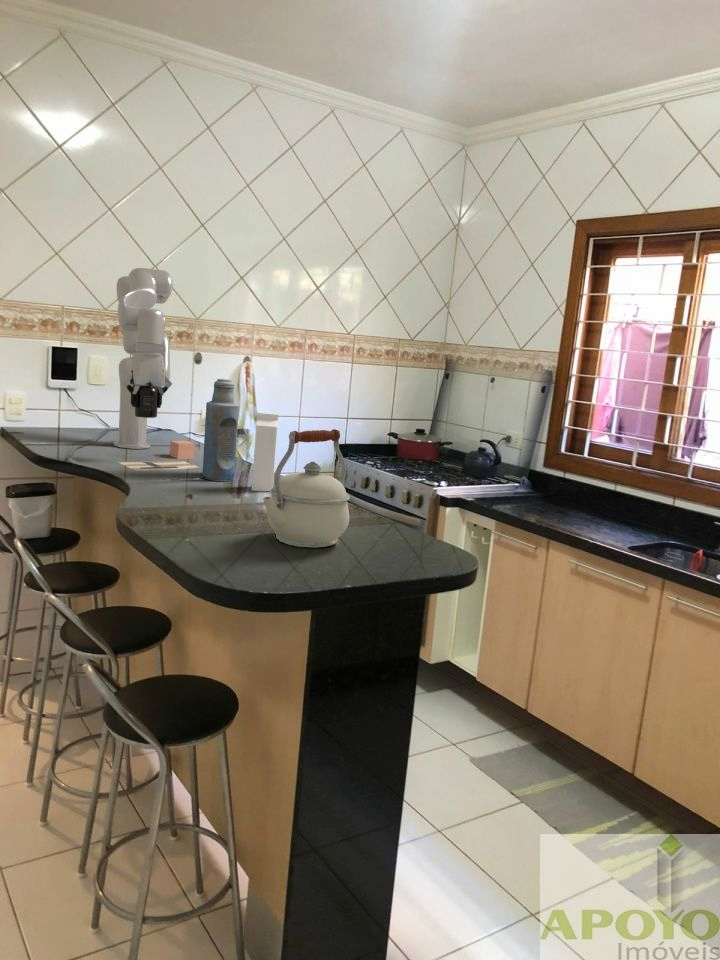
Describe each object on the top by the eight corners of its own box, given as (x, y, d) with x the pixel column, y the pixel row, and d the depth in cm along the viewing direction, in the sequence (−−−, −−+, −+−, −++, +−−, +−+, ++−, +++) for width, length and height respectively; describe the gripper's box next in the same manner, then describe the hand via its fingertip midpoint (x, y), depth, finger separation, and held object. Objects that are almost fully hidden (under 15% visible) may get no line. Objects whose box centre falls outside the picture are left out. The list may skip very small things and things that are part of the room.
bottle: (211, 482, 226) (218, 380, 220) (196, 475, 233) (202, 376, 228) (240, 481, 232) (247, 381, 226) (223, 474, 239) (230, 378, 234)
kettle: (309, 525, 186) (318, 423, 181) (368, 543, 175) (379, 434, 170) (231, 539, 167) (238, 425, 162) (291, 560, 155) (301, 438, 151)
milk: (272, 492, 220) (278, 416, 216) (251, 490, 220) (256, 414, 215) (272, 488, 226) (278, 413, 222) (252, 486, 226) (257, 411, 221)
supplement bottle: (160, 417, 242) (162, 379, 241) (151, 418, 236) (153, 379, 234) (139, 415, 243) (141, 377, 241) (130, 416, 237) (132, 377, 235)
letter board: (116, 464, 238) (117, 461, 238) (181, 462, 252) (181, 460, 252) (135, 473, 228) (135, 470, 228) (202, 470, 242) (202, 468, 242)
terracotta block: (169, 458, 259) (170, 440, 258) (185, 457, 263) (186, 440, 262) (177, 461, 255) (178, 443, 254) (194, 461, 259) (195, 443, 257)
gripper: (169, 351, 244) (167, 406, 247) (116, 346, 234) (114, 405, 236) (180, 352, 239) (177, 409, 242) (126, 347, 228) (123, 407, 231)
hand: (146, 406), depth 239 cm, fingers closed on supplement bottle, 6 cm apart
